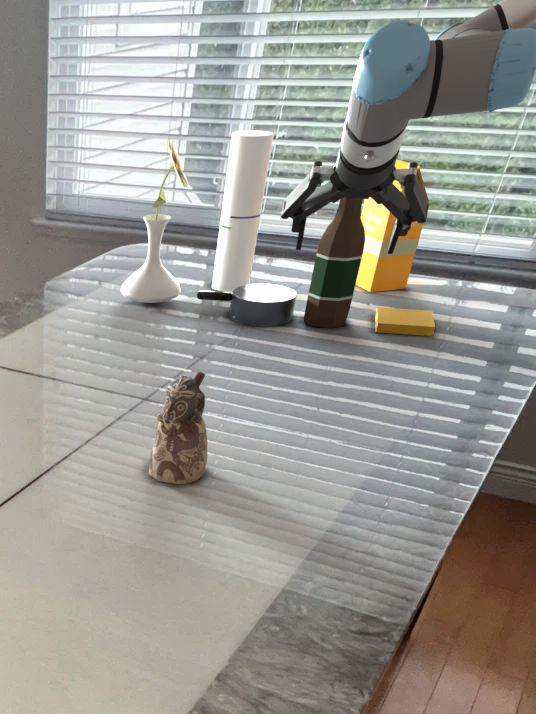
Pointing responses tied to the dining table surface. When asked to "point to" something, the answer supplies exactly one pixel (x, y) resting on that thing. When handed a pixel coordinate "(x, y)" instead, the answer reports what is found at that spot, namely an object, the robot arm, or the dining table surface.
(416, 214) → the robot arm
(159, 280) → the flower in vase
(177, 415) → the figurine
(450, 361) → the dining table surface
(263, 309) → the steel pan
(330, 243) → the beer bottle
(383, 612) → the dining table surface
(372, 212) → the orange juice
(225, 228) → the cylindrical container
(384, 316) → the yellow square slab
